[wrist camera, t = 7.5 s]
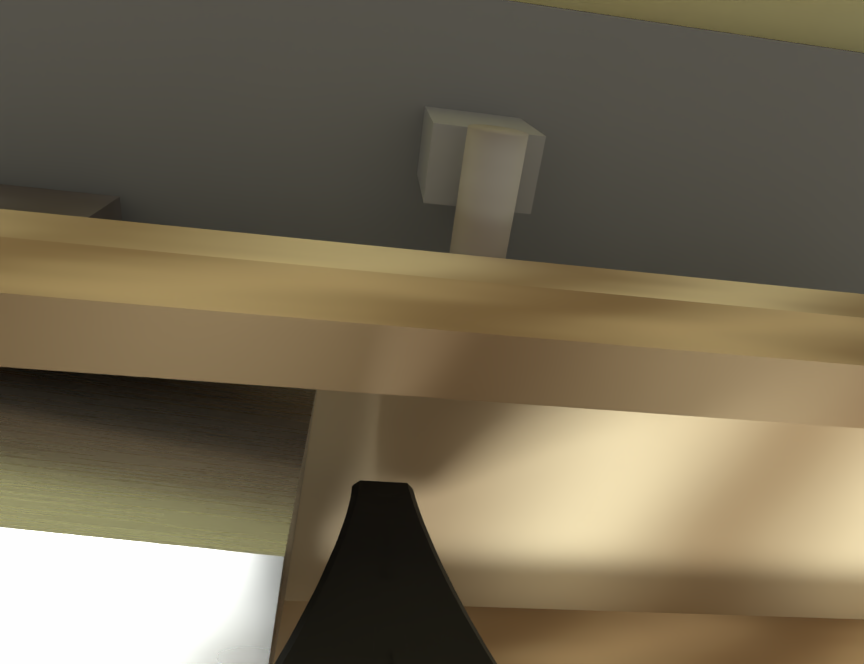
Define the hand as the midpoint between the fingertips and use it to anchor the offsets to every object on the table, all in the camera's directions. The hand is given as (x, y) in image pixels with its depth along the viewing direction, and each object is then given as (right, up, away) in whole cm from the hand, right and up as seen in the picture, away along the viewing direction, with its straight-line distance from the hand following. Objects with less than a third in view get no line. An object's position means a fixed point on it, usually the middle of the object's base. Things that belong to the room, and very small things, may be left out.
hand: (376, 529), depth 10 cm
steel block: (-4, +1, +1) cm, 4 cm away
